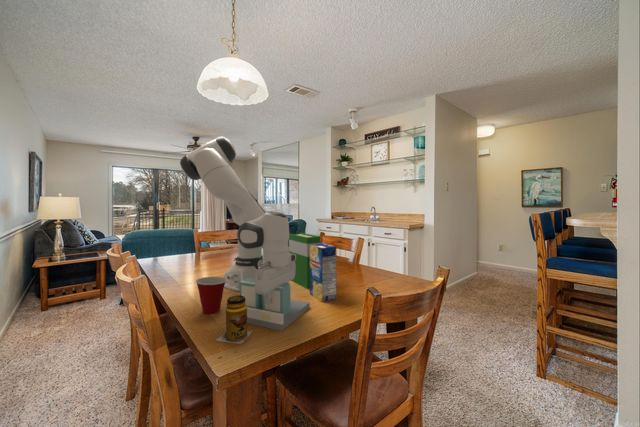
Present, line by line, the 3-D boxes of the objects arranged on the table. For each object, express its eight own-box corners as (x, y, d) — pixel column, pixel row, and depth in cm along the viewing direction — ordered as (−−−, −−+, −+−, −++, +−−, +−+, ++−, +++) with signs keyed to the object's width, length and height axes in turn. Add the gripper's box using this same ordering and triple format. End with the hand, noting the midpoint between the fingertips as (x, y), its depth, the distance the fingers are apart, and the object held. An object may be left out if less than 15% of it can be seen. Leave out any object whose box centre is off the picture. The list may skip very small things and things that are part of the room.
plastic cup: (232, 310, 100) (232, 278, 99) (203, 319, 92) (203, 285, 92) (219, 302, 107) (218, 273, 107) (191, 310, 100) (190, 279, 99)
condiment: (242, 344, 77) (241, 302, 76) (214, 341, 78) (214, 301, 77) (252, 331, 84) (252, 294, 83) (227, 329, 85) (226, 292, 85)
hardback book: (289, 279, 139) (288, 233, 138) (301, 277, 143) (301, 232, 142) (307, 289, 124) (307, 237, 123) (320, 286, 128) (320, 236, 127)
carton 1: (239, 309, 96) (238, 281, 95) (248, 304, 100) (248, 277, 100) (257, 313, 92) (257, 284, 92) (266, 308, 97) (266, 280, 97)
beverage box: (322, 302, 108) (322, 248, 107) (309, 294, 118) (309, 244, 116) (336, 299, 111) (336, 246, 110) (323, 291, 121) (323, 243, 120)
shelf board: (231, 319, 92) (231, 305, 92) (265, 300, 110) (265, 288, 110) (281, 331, 84) (281, 315, 84) (309, 307, 102) (309, 294, 102)
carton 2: (262, 314, 92) (262, 285, 91) (271, 308, 96) (270, 281, 96) (282, 318, 88) (282, 288, 88) (290, 312, 93) (290, 283, 93)
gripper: (266, 267, 81) (266, 312, 81) (298, 254, 99) (298, 291, 100) (249, 264, 83) (249, 308, 84) (283, 253, 102) (284, 288, 103)
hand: (276, 299), depth 92 cm, fingers open, 8 cm apart
